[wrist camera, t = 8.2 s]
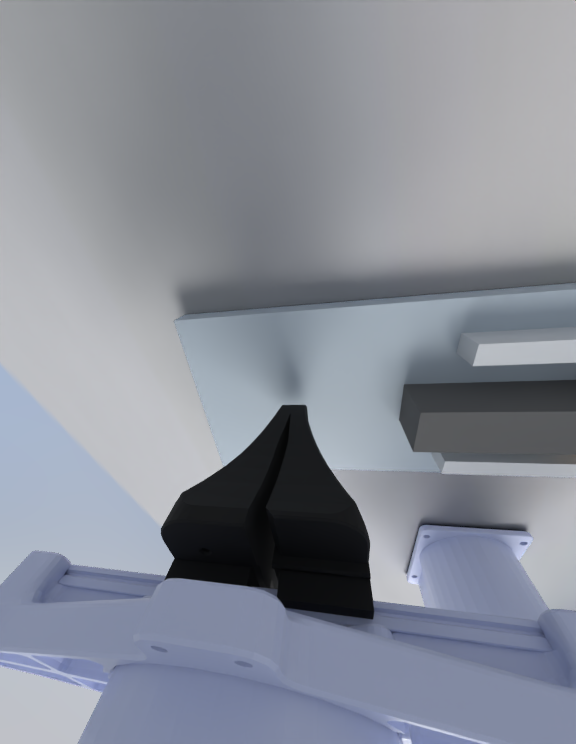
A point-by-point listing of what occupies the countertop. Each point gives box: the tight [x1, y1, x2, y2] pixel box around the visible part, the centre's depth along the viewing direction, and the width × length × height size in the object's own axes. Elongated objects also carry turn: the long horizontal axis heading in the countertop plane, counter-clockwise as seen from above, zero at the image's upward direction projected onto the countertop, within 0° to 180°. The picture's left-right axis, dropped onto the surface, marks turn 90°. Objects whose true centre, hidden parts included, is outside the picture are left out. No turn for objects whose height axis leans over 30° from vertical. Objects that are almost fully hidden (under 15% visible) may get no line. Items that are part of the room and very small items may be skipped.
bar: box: [399, 380, 576, 455], centre depth 11 cm, size 2×8×2 cm, turn 97°
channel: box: [174, 283, 576, 478], centre depth 12 cm, size 11×28×4 cm, turn 96°
